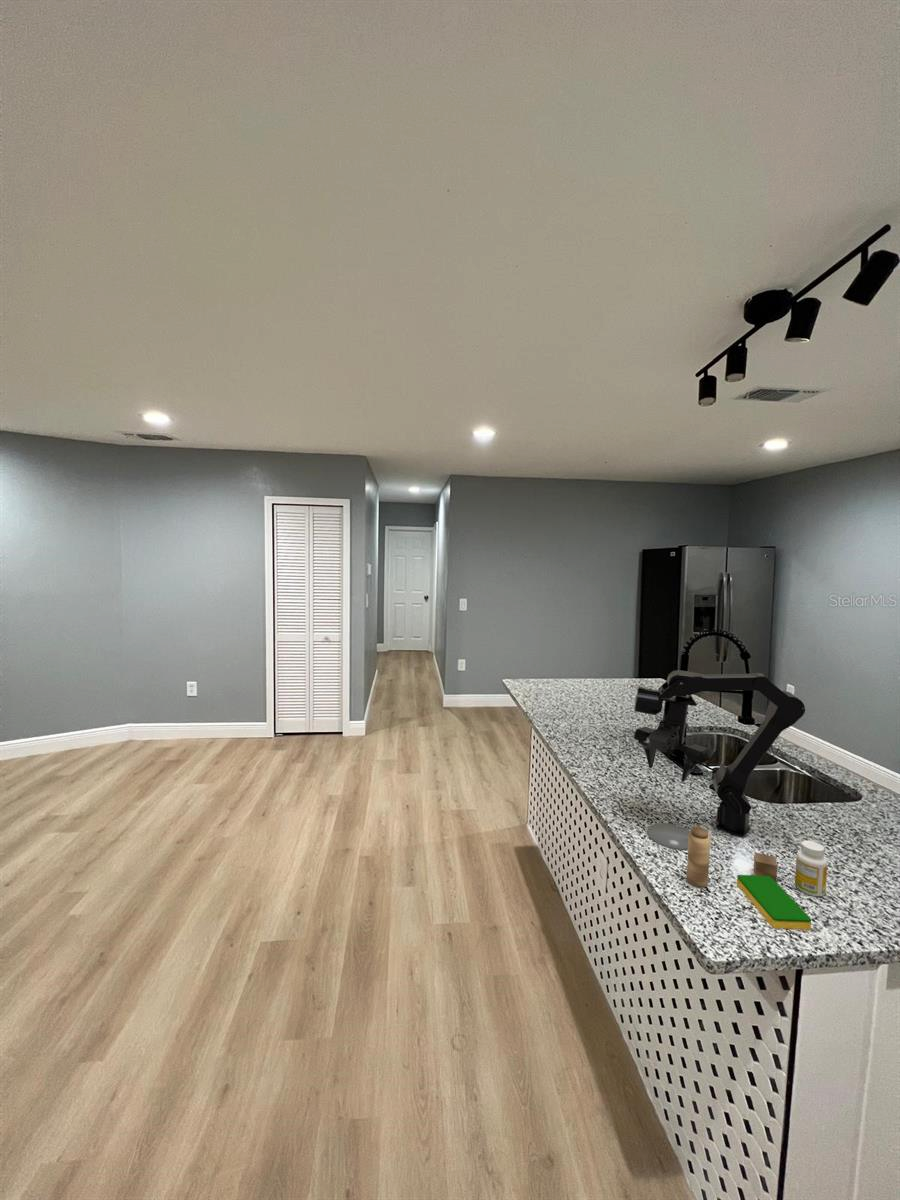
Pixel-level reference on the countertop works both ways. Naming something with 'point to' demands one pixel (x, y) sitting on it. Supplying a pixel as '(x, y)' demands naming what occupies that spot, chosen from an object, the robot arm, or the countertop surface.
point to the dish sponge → (773, 902)
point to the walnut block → (765, 865)
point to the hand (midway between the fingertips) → (666, 774)
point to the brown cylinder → (698, 857)
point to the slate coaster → (669, 835)
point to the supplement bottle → (811, 869)
